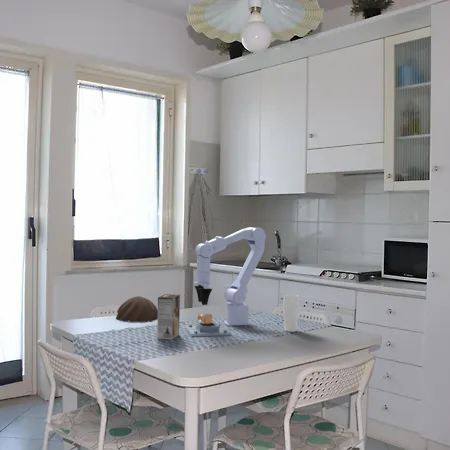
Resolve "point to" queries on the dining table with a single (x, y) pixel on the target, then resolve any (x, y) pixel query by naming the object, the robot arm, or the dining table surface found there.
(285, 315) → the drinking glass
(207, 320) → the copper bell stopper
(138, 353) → the dining table surface
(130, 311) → the decorative dome
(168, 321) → the coffee box
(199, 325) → the flange plate
